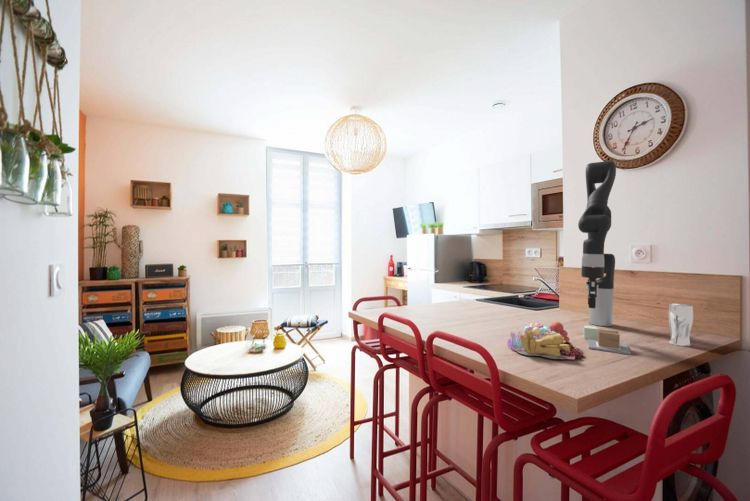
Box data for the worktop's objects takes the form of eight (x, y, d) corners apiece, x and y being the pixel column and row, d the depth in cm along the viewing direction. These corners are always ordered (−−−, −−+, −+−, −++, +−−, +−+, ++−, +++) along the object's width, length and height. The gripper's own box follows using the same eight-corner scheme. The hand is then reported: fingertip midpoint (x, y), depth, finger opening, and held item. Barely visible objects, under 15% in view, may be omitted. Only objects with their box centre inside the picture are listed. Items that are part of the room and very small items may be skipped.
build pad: (587, 340, 133) (587, 339, 133) (626, 345, 127) (626, 344, 127) (588, 348, 122) (589, 346, 122) (630, 354, 116) (630, 352, 116)
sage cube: (583, 336, 139) (584, 325, 139) (596, 338, 137) (597, 326, 137) (584, 339, 136) (584, 327, 135) (597, 340, 133) (597, 329, 133)
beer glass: (693, 347, 126) (694, 307, 125) (668, 344, 130) (669, 304, 129) (690, 343, 131) (692, 304, 131) (666, 340, 135) (668, 302, 135)
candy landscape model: (594, 365, 106) (595, 335, 106) (514, 358, 111) (515, 330, 111) (565, 342, 131) (566, 318, 131) (501, 338, 135) (501, 314, 135)
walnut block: (597, 342, 129) (598, 328, 128) (617, 344, 126) (617, 331, 125) (598, 346, 123) (599, 332, 123) (619, 348, 120) (619, 334, 120)
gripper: (581, 264, 144) (580, 303, 144) (582, 265, 132) (580, 308, 132) (602, 265, 140) (601, 305, 140) (605, 266, 128) (604, 310, 128)
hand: (591, 306), depth 136 cm, fingers open, 8 cm apart
